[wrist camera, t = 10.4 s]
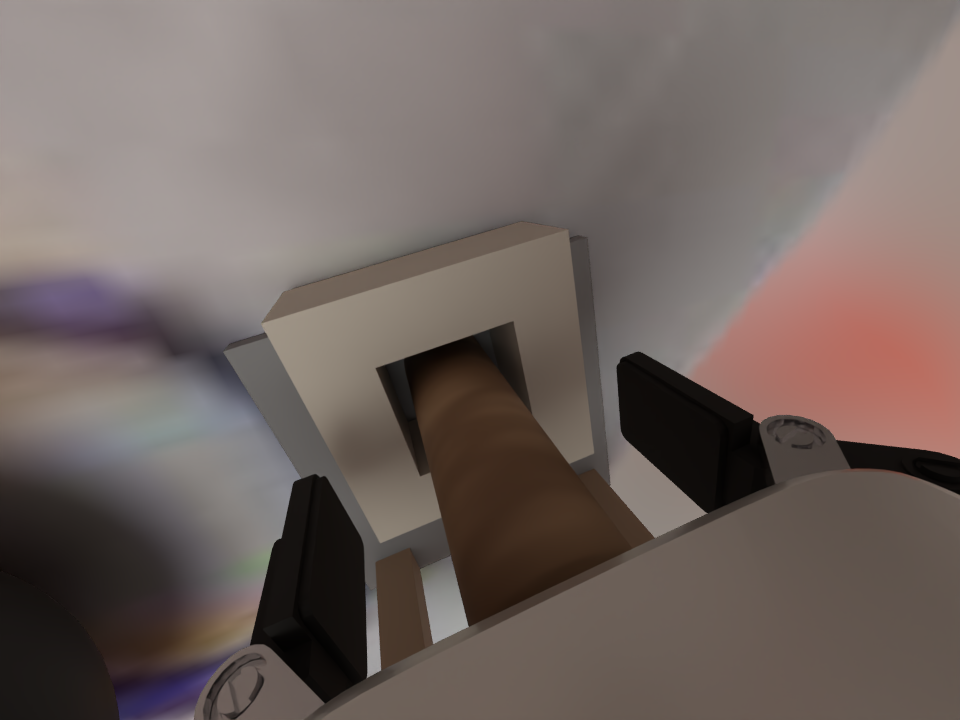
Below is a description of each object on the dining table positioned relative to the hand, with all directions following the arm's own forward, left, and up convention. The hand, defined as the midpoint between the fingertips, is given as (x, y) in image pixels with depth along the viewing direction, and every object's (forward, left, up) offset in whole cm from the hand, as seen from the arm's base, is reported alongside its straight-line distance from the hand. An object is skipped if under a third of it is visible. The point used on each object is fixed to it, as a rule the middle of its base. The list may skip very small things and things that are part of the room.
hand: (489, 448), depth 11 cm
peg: (0, 0, -7) cm, 7 cm away
